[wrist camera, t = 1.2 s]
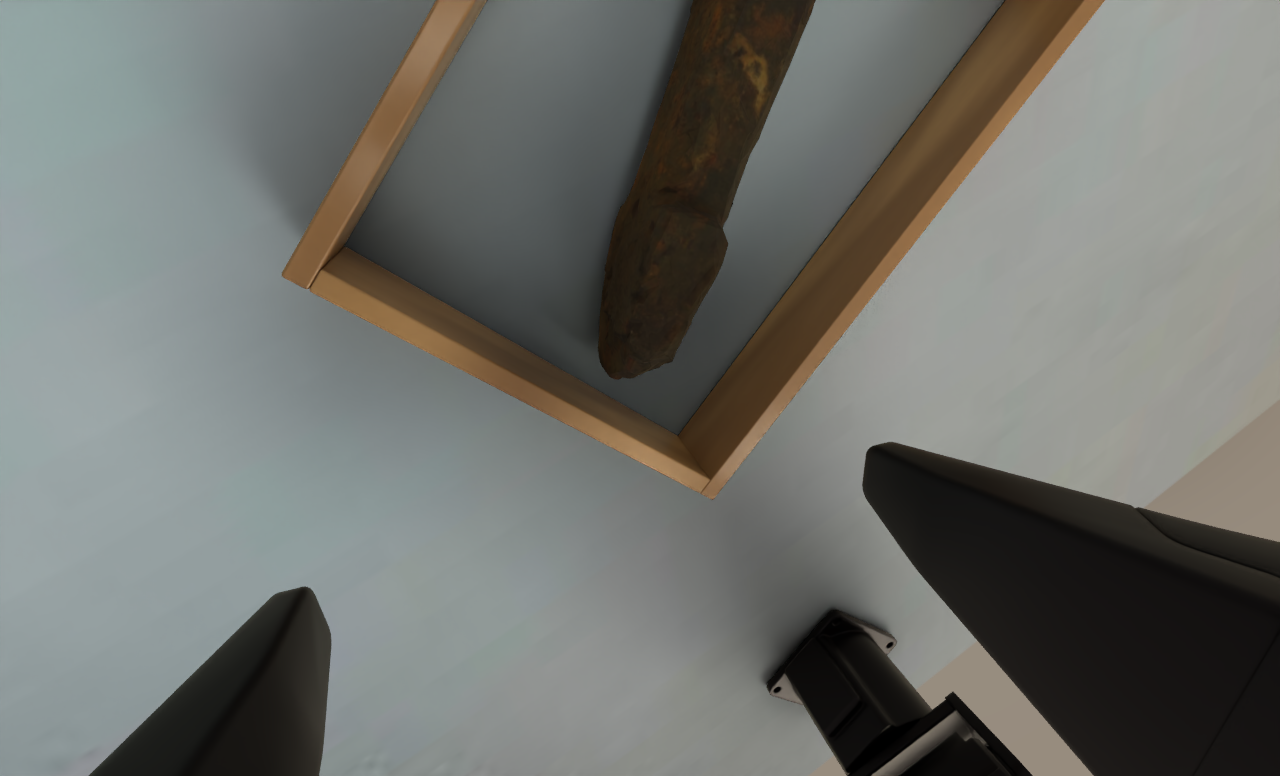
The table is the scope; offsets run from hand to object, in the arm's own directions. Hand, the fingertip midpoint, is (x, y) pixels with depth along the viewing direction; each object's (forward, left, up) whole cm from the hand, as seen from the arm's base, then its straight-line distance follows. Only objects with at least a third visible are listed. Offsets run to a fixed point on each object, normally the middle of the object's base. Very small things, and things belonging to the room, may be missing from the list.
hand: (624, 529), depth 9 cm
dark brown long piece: (-1, -9, -13) cm, 16 cm away
